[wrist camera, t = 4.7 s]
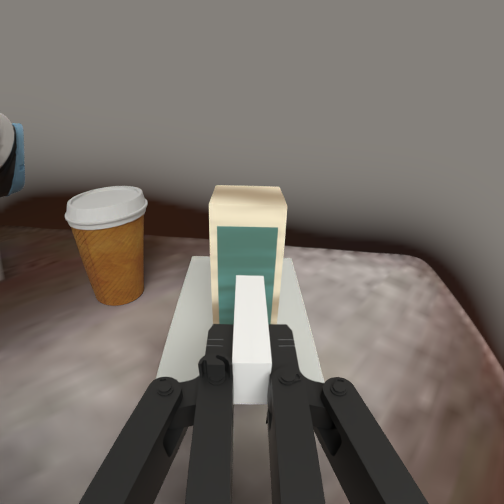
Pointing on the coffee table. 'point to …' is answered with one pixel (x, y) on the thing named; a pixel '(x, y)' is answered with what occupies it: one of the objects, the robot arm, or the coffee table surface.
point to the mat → (201, 320)
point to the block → (246, 245)
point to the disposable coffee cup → (110, 240)
